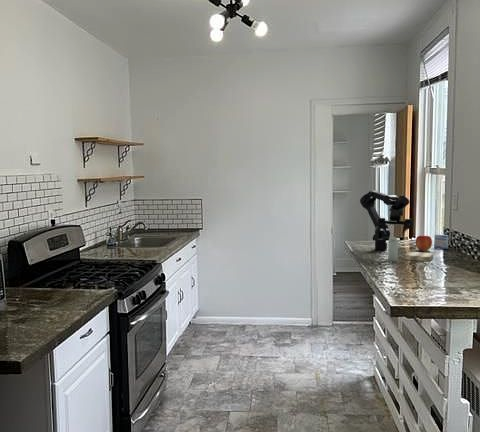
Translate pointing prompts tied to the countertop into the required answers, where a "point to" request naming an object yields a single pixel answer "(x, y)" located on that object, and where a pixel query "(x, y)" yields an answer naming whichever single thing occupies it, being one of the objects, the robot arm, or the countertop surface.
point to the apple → (423, 243)
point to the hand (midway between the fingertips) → (394, 234)
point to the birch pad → (419, 256)
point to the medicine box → (441, 241)
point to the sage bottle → (393, 249)
